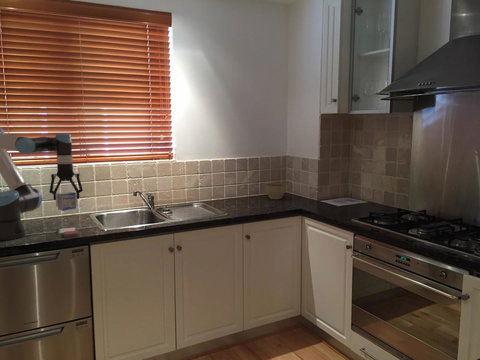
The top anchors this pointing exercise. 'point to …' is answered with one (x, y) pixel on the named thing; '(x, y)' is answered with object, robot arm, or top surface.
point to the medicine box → (66, 201)
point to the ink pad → (71, 233)
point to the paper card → (66, 229)
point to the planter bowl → (275, 190)
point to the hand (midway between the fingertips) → (67, 205)
